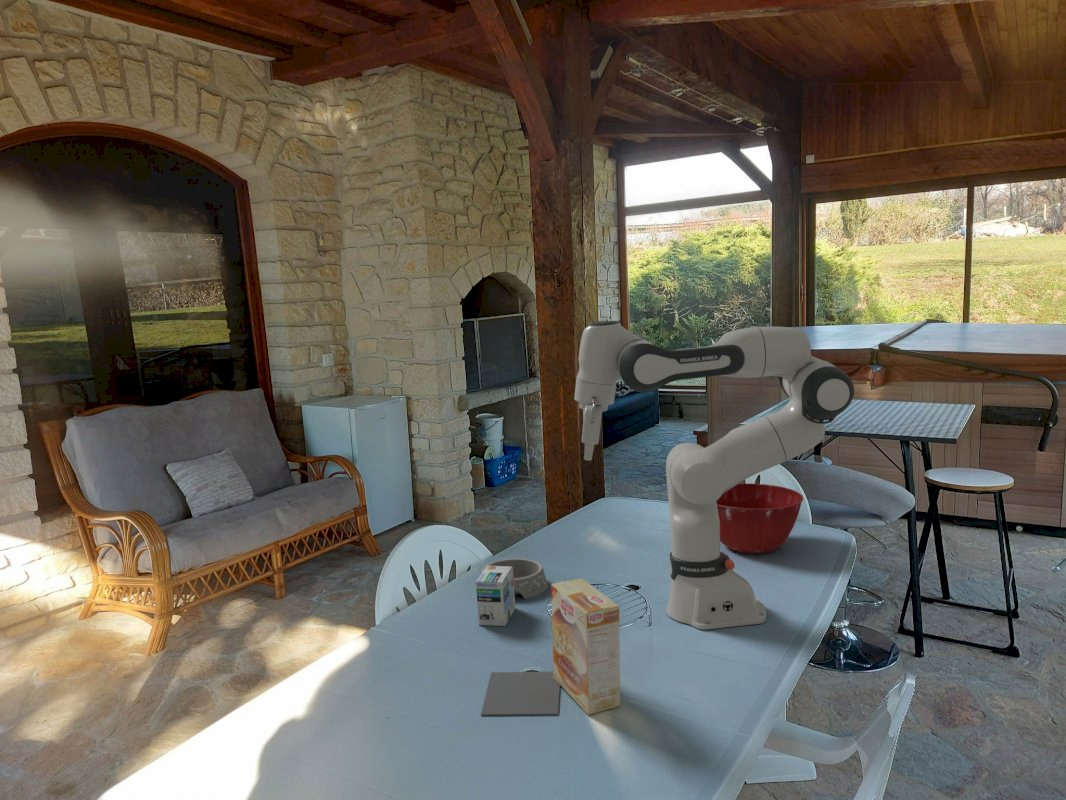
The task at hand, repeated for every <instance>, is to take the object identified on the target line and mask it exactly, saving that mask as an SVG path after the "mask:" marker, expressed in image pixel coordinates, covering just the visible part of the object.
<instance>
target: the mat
mask: <svg viewBox="0 0 1066 800" xmlns="http://www.w3.org/2000/svg"><path fill="white" fill-rule="evenodd" d="M553 676H554V671H507V672H506V671H504V672H501V671H499V672H495V671H494V672H491V673H490V676H489V680H488V685H487V689H486V692H485V697H484V700H483V704H482V709H481V712H480V713H481V714H480V717H494V716H495V717H497V716H498V717H499V716H501V717H503V716H506V717H511V716H512V717H513V716H558V715H559V704H560V691H561V688H560V687H561V685H560V684H559V683H558V682H557V681H556V680H555V679H554V678H553Z"/></svg>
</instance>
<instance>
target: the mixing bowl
mask: <svg viewBox="0 0 1066 800" xmlns="http://www.w3.org/2000/svg"><path fill="white" fill-rule="evenodd" d="M803 501H804V496H803V495H802V494H801V493H800V492H798V491H797V490H794V489H791V488H789V487H788V488H787V487H785V486H779V485H773V484H764V483H762V484H761V483H739V484H738V485H736V486H734V487H733V488H731V489H730V490H728V491H726V492H725V493H723V494H722V495H721V497H720V498H719V499H718V500H717V501H716V502H717V509H718V515H719V520H720V543H721V544H722V545H724V546H725V547H727V548H728V549H729V550H732V551H734V552H737V553H740V554H749V555H752V554H753V555H754V554H755V555H757V554H767V553H771V552H772V551H774V550H775V549H778V548H779V547H781V546H782V545H783V544H784V543H785V542H786V540H788V538H789V536H790V534H791V533H792V530H793V528H794V526H795V524H796V522H797V519H798V516H799V513H800V509H801V505H802V502H803Z"/></svg>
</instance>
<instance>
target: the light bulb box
mask: <svg viewBox="0 0 1066 800" xmlns="http://www.w3.org/2000/svg"><path fill="white" fill-rule="evenodd" d="M475 587H476V589H475V590H476V600H477V601H476V602H477V603H476V605H477V614H478V615H477V617H478V618H477V619H478V626H494V627H495V626H496V627H497V626H498V627H506V626H507V624H508V622H509V620H510V619H511V617H512V615H513V613H514V612H515V609H516V600H515V599H516V596H515V595H514V578H513V567H509V566H487V567H486V568H485V570H484V571H483V572H482V574H481V573H480V575H479V576H478V578H477V579H476V581H475Z"/></svg>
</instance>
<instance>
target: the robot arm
mask: <svg viewBox="0 0 1066 800" xmlns="http://www.w3.org/2000/svg"><path fill="white" fill-rule="evenodd" d="M809 339H810V338H809V337H808V336H807V334H806V333H805V332H804V331H803V330H802V329H799V328H796V327H789V326H788V327H787V326H776V325H775V326H772V325H771V326H766V325H765V326H751V327H744V328H739V329H734V330H731V331H727V332H725V333H723V335H722V336H720V338H719V339H718V340H717V341H716V342H715V343H713V344H711V345H706V346H700V347H699V346H698V347H689V348H679V349H678V348H677V349H667V348H666V349H665V348H664V347H663V348H662V347H660V346H657V345H655V344H654V343H652V342H651V341H649V340H647V339H644V338H642V337H640V336H638V335H636V334H634V333H632V332H631V331H629V330H628V329H626V328H625V327H623V326H622V324H620V323H619V321H616V320H599V321H593V322H590V323H588V325H586V327H584V329H583V332H582V335H581V338H580V345H579V351H578V359H577V360H578V363H579V364H578V365H579V366H578V372H577V375H576V380H575V389H574V397H573V398H574V399H573V400H575V401H576V402H578V403H579V405H578V408H579V409H581V410H582V418H583V419H582V422H583V423H582V431H581V432H582V433H581V443H582V444H584V451H583V452H584V453H583V454H584V455H583V460H584V461H592V460H593V454H594V450H595V449H594V448H595V445H598V444H599V441H600V433H601V424H602V414H603V412H607V411H608V407H609V406H612V405H614V403H615V396H616V388H617V381H618V380H619V379H621V380H622V381H623V383H624V384H625V385H626V386H627V387H628V388H629V389H631V390H633V391H635V392H638V393H639V392H640V393H649V392H654V391H656V390H658V389H660V388H662V387H664V386H665V385H666V386H667V384H670V383H673V382H675V381H681V380H689V379H690V380H691V379H700V378H709V377H726V378H738V379H742V378H743V379H744V378H745V379H747V378H748V379H749V378H751V379H753V378H765V377H777V378H778V380H779V385H780V387H781V389H782V391H783V393H784V394H785V395H786V396H787V397H789V398H790V399H789V401H787V403H786V404H785V405H784V406H783V407H782V408H780V409H779V410H778V411H775V412H772V413H770V414H767V415H764V416H762V417H760V418H757V419H755V420H752V421H750V422H747V423H746V424H744V425H743V424H742V425H740V426H738V427H736V428H733V429H731V430H729V432H728V433H726V435H724V436H723V437H721V438H719V439H718V440H717V441H715V442H713V443H711V444H709V445H708V446H706V447H703V446H702V445H700V444H698V443H694V442H682V443H678V444H676V445H675V446H673V447H672V448H671V449H670V450H669V452H668V454H667V457H666V462H665V473H666V474H665V475H666V486H667V498H668V510H669V521H670V542H671V543H670V544H671V545H670V546H671V547H670V549H671V551H670V552H669V558H668V559H669V561H668V562H669V563H668V564H669V565H668V566H669V575H670V576H669V577H670V578H671V579H670V580H671V581H670V588H669V589H670V590H669V596H668V601H667V605H666V608H665V612H666V614H667V615H668V616H669V617H670V618H671V619H672V620H675V621H677V622H680V623H683V624H687V625H690V626H693V627H694V628H696V629H698V630H703V631H704V630H712V629H724V628H732V627H741V626H751V625H758V624H759V625H761V624H764V623H765V622H766V620H767V618H768V617H767V611H766V610H767V609H766V608H765V606H764V604H763V603H762V601H760V600H759V599H758V598H757V597H756V595H755V592H754V589H753V586H751V583H750V582H748V581H747V579H745V578H744V577H742V576H741V575H740V574H738V573H737V572H736V571H734V569H735V567H736V566H735V563H734V561H733V560H732V559H730V556H729V555H727V554H726V553H725V551H721V541H720V520H719V515H718V509H717V502H716V501H717V500H718V499H719V498H720V497H721V495H722V494H723V493H725V492H726V491H728V490H730V489H731V488H733V487H734V486H736V485H738V484H742V483H743V482H744V481H745V480H747V479H749V478H750V477H753V476H755V475H756V474H759V473H761V472H764V471H766V470H769V469H771V468H773V467H776V466H778V465H781V464H782V463H785V462H787V461H790V460H792V459H795V458H796V457H799V456H800V455H802V454H804V453H806V452H807V451H809V450H811V449H812V448H814V447H816V446H817V445H818V444H820V443H821V442H822V440H823V439H824V437H825V434H826V433H825V432H826V427H825V424H830V423H832V422H833V421H834V420H835V419H836V418H837V416H839V415H840V414H842V413H843V412H844V411H845V410H846V409H848V407H850V405H851V403H852V401H853V399H854V396H855V387H854V384H853V381H852V379H851V378H850V376H849V375H848V374H847V373H846V372H845V371H844V370H842V369H841V368H839V367H837V366H835V365H834V364H832V363H831V362H828V361H826V360H824V359H823V360H822V359H820V358H817V357H815V356H813V355H812V353H811V351H812V349H811V348H812V347H811V343H810V340H809Z"/></svg>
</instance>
